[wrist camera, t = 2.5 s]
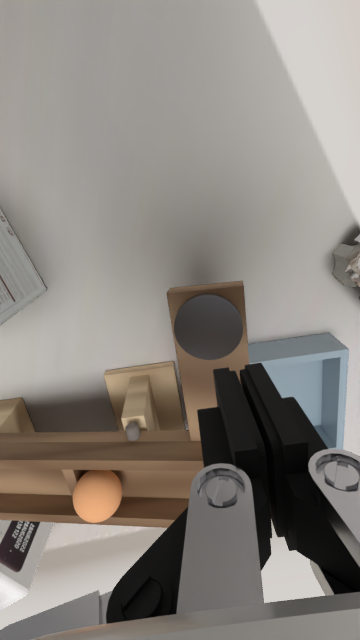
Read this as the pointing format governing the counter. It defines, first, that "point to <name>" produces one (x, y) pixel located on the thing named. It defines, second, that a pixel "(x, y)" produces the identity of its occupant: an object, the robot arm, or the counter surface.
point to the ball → (97, 495)
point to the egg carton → (347, 264)
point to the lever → (134, 429)
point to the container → (20, 557)
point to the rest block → (14, 417)
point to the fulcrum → (146, 397)
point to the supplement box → (15, 274)
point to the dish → (310, 378)
